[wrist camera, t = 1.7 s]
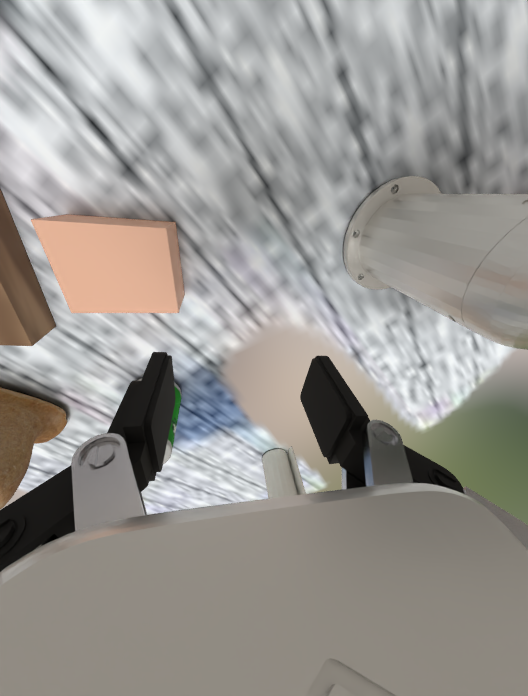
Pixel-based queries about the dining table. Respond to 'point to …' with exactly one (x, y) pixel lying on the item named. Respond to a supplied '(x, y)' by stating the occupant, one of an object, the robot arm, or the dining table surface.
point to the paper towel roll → (282, 474)
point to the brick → (114, 263)
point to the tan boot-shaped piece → (23, 435)
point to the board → (19, 290)
